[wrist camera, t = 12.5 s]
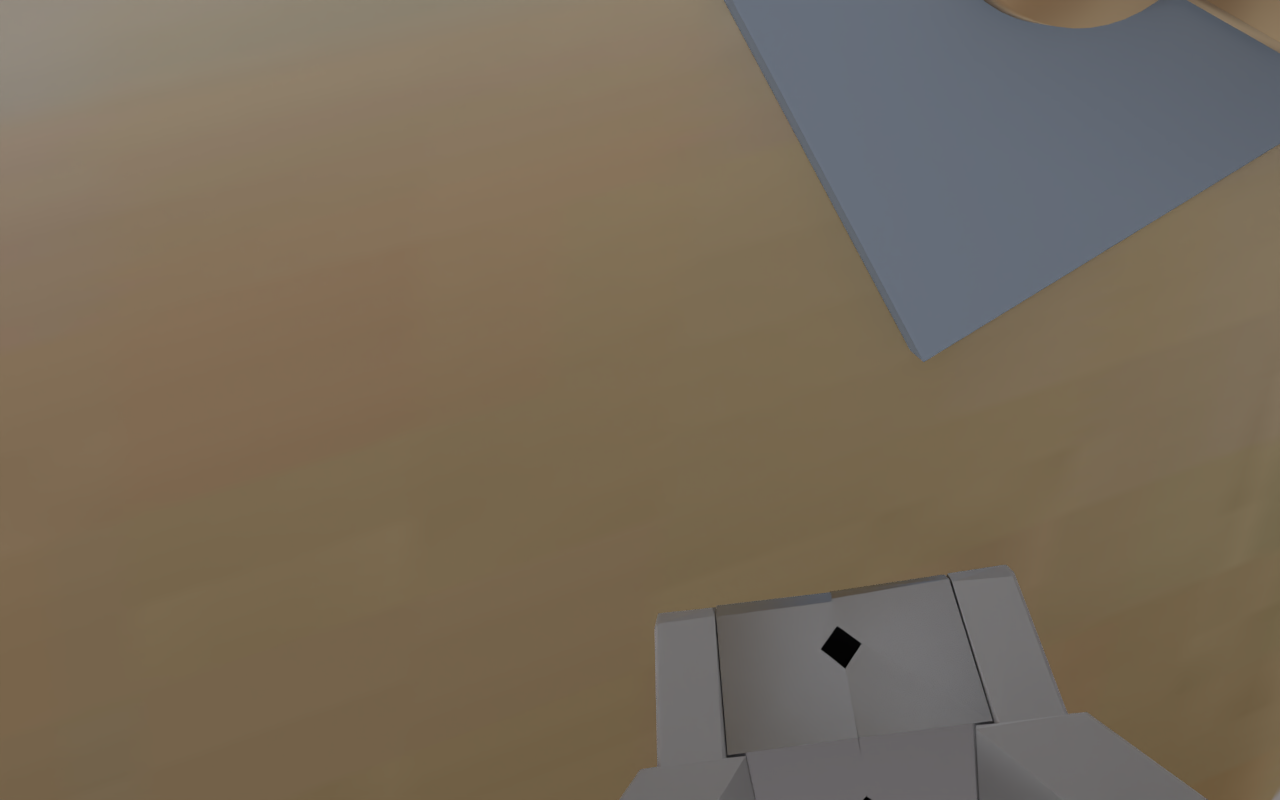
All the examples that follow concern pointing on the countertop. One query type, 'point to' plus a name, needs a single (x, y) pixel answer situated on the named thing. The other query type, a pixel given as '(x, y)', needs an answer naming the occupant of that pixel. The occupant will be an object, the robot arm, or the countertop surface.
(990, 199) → the board
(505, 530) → the countertop surface
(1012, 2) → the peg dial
